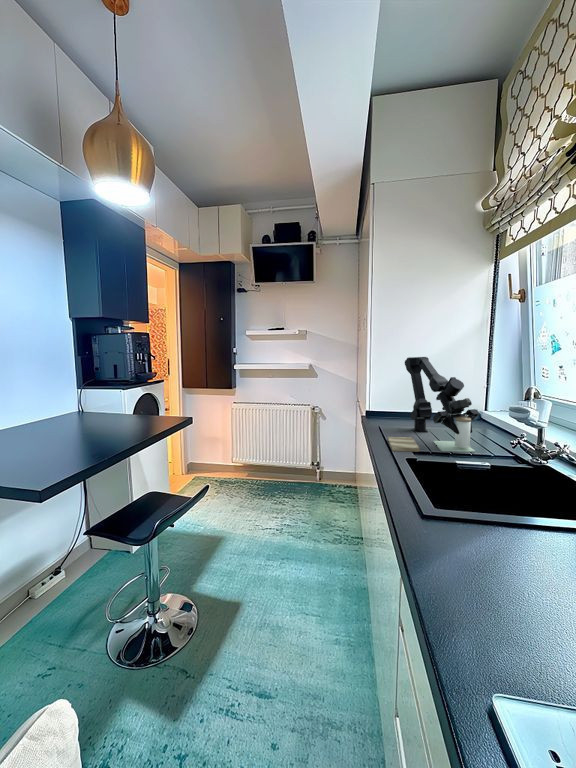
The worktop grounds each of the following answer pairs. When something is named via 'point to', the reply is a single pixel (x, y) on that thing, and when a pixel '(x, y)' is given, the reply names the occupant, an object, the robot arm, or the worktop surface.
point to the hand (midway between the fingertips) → (464, 433)
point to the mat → (451, 447)
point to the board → (403, 444)
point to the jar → (463, 432)
